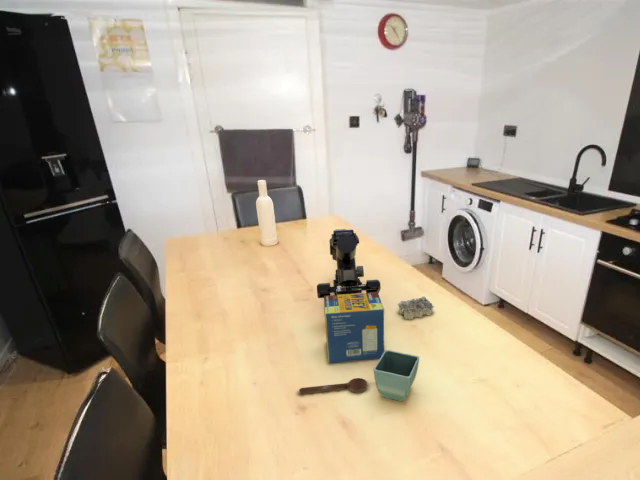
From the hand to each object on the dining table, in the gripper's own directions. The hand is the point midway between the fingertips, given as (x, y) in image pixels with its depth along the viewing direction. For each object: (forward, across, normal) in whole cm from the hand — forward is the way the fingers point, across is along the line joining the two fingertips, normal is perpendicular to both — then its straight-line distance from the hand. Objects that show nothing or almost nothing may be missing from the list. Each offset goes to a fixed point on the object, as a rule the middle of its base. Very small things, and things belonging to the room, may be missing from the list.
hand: (351, 316), depth 120 cm
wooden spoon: (+22, -6, -12) cm, 26 cm away
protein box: (+10, 0, -1) cm, 11 cm away
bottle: (-60, -31, +68) cm, 96 cm away
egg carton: (-3, +22, +12) cm, 25 cm away
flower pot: (+25, +8, -15) cm, 30 cm away
